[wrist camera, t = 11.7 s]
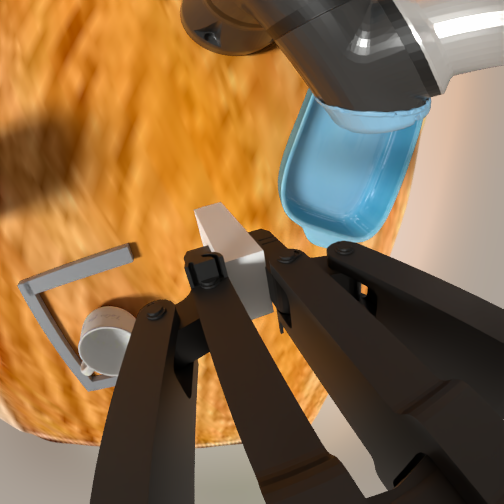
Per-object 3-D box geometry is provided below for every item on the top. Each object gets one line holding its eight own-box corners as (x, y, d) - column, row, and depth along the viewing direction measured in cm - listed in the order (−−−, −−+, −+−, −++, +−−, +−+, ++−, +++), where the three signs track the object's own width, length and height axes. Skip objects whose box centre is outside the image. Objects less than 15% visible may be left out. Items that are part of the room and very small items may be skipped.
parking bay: (128, 243, 41) (127, 246, 39) (180, 363, 53) (181, 368, 52) (20, 280, 36) (17, 285, 35) (88, 386, 48) (88, 391, 47)
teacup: (119, 286, 43) (115, 316, 36) (156, 331, 48) (159, 362, 41) (61, 322, 42) (52, 353, 35) (99, 361, 47) (96, 392, 40)
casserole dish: (349, 246, 55) (372, 261, 48) (246, 217, 45) (261, 233, 39) (408, 80, 44) (435, 80, 38) (321, 16, 34) (345, 5, 28)
